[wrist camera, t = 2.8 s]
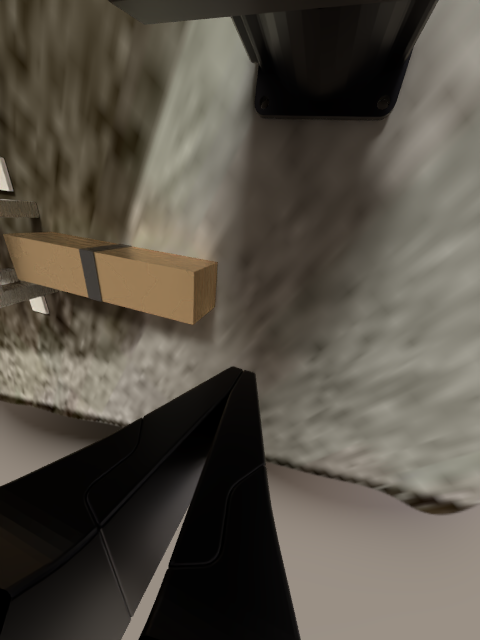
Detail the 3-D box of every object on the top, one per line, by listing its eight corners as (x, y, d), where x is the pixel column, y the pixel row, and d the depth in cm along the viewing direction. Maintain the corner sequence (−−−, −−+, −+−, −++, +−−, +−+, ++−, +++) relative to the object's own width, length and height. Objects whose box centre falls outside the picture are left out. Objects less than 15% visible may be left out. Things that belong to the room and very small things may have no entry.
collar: (35, 202, 19) (-47, 197, 15) (58, 291, 23) (-2, 308, 18) (25, 200, 19) (-58, 195, 15) (49, 289, 23) (-12, 305, 19)
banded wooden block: (217, 261, 16) (193, 271, 13) (214, 307, 18) (192, 325, 15) (51, 231, 20) (1, 233, 17) (61, 271, 21) (17, 279, 18)
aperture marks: (3, 157, 18) (-1, 156, 18) (49, 313, 24) (46, 314, 24) (-13, 156, 19) (-18, 155, 18) (35, 309, 25) (33, 310, 25)
